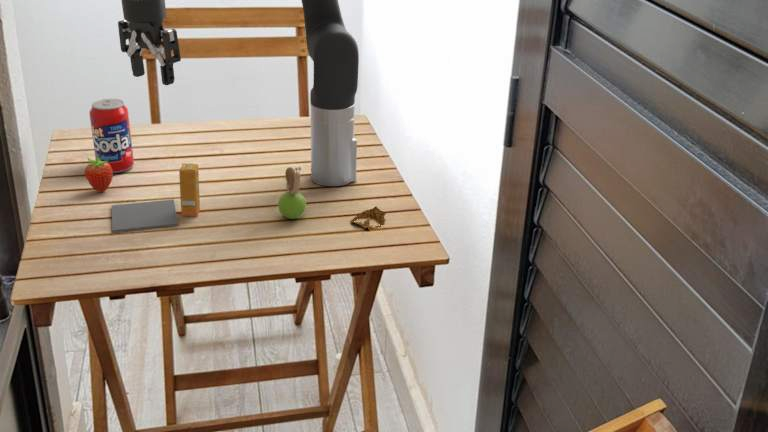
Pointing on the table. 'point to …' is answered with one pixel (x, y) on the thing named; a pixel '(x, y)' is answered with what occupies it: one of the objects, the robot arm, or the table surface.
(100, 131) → the soda can
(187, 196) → the supplement box
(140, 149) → the table surface
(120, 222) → the mat
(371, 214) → the leaf
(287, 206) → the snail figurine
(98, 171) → the fruit
